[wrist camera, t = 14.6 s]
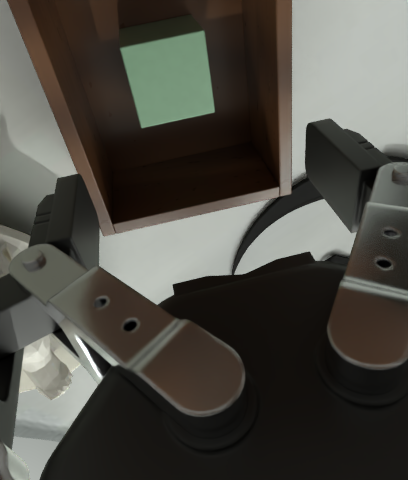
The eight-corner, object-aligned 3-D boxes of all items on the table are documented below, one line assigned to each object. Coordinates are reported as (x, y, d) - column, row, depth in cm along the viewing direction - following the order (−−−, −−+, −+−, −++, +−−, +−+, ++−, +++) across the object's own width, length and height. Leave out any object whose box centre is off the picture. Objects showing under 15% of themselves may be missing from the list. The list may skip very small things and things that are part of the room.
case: (259, 144, 30) (292, 194, 25) (105, 177, 30) (103, 237, 24) (244, -118, 21) (293, -132, 15) (15, -74, 20) (-24, -73, 14)
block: (137, 102, 26) (141, 128, 22) (118, 28, 23) (119, 47, 20) (202, 88, 26) (215, 112, 23) (191, 13, 23) (204, 29, 20)
